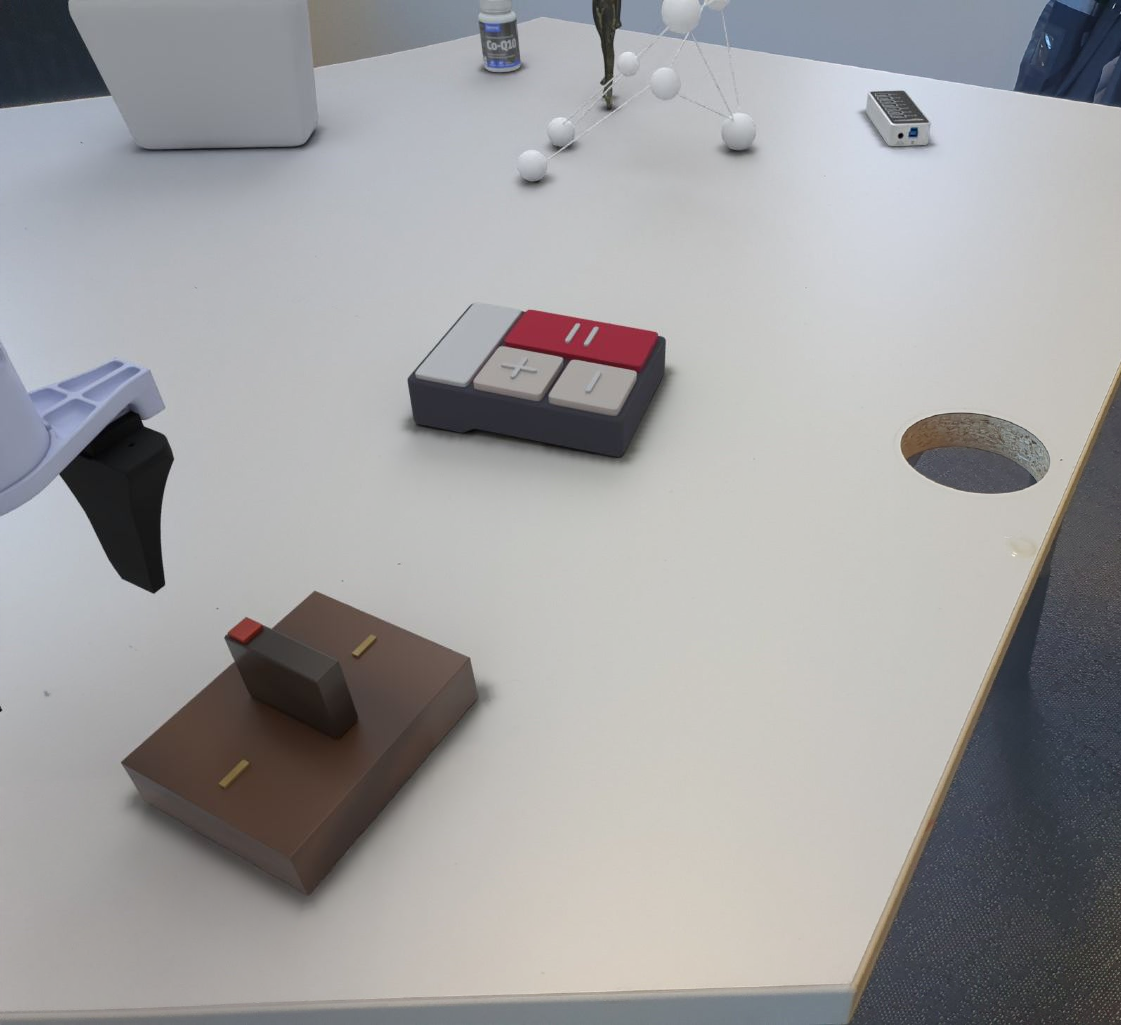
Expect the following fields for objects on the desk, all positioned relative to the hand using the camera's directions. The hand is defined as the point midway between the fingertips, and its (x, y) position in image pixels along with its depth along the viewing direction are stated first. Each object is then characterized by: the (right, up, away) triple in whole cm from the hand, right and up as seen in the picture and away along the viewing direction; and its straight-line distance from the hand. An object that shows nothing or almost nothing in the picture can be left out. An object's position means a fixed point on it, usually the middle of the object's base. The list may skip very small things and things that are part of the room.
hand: (66, 640), depth 40 cm
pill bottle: (+2, +63, +88) cm, 108 cm away
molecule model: (+21, +42, +64) cm, 79 cm away
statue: (+16, +53, +77) cm, 95 cm away
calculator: (+15, +13, +30) cm, 36 cm away
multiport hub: (+49, +48, +71) cm, 99 cm away
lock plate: (+8, -6, +7) cm, 12 cm away
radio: (-25, +46, +69) cm, 87 cm away
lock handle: (+8, -4, +5) cm, 10 cm away
